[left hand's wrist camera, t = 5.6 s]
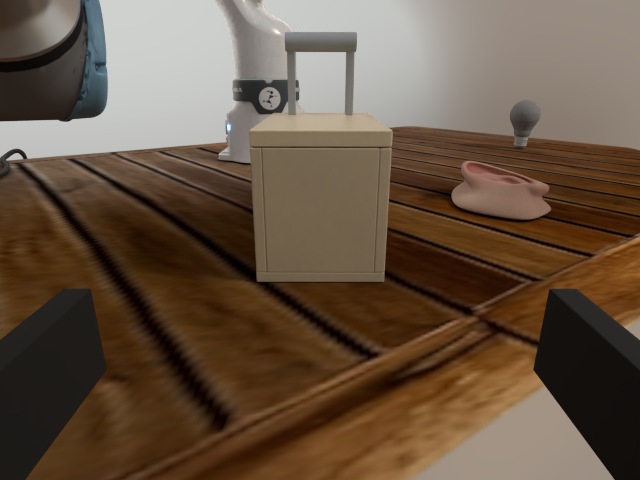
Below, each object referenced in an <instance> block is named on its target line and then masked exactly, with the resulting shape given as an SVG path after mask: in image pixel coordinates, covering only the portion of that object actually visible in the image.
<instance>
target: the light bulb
mask: <svg viewBox="0 0 640 480" xmlns="http://www.w3.org/2000/svg"><path fill="white" fill-rule="evenodd" d="M540 115H541V111H540V108H539V106H538V105H537V104H536V103H535V102H533V101H530V100H524V101H521V102H519V103H517V104H516V105H515V106H514V107H513V109H512V110H511V113H510V120H511V123H512V125H513V127H514V135H515V143H514V146H516V147H517V148H523V147H525V146H527V145H526V144H527V143H526V142H527V140H528V136H529V135H530V133H531V130H532V129H533V127H534V126H535V125H536V123H537V122H538V121H539V118H540Z"/></svg>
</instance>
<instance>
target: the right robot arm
mask: <svg viewBox="0 0 640 480" xmlns="http://www.w3.org/2000/svg"><path fill="white" fill-rule="evenodd" d="M214 1H215V2H216V4H217V5H218V7H219V8H220V10H221V12H222V13H223V15H224V18H225V20H226V22H227V25H228V28H229V32H230V37H231V43H232V51H233V60H234V72H235V79H288V75H287V52H286V51H285V32H293V31H292V29H291V28H290V27H289V26H288V25H287V24H286V23H285V22H283V21H282V20H280V19H278V18H277V17H275V16H273V15H271V14H269V13H267V12H266V11H265V8H264V5H263V0H214ZM295 78H296V52H295ZM232 91H233V99H234V100H235V104H234V106H233V108H232V109H231V110H230V111H229V113H227V119H226V134H227V135H228V136H227V143H228V147H227V148H226V149H225V150H223V151H222V152H221V153H220V154H219V157H218V159H219V160H228V161H236V162H242V163H251V160H250V148H251V147H250V141H249V130H251V129H252V128H253V127H255V126H256V125H258V124H259V123H260V122H262V121H263V120H264V119H266V118H267V117H269V116H270V115H271V114H273V113H288V80H233V88H232ZM299 91H300V90H299V82H298V80H296V113H306V112H305V111H304V110H303V109H302V108H301V107H300V106H299V104H298V101H297V100H299Z"/></svg>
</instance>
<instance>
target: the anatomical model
mask: <svg viewBox="0 0 640 480" xmlns="http://www.w3.org/2000/svg"><path fill="white" fill-rule="evenodd" d="M461 171H462V174H463V176H464V178H465V181H464V182H463V183H461V184H460V185H458V186H457V187H456V188H455V189H454V190H453V192H452V200H453V202H454V204H455V205H457V206H458V207H460V208H462V209H465V210H468V211H472V212H476V213H480V214H485V215H490V216H496V217H502V218H509V219H517V220H531V219H535V218H538V217H541V216H543V215H545V214H547V213H548V212H549V211H550V210H551V207H550V206H549V205H548V204H547V203H546V202H545V201H544V200H543V199H542V196H543V195H545V194H546V193H547V192H548V191H549V186H548V185H547V184H544V183H542V182H539V181H536V180H533V179H530V178H528V177H525V176H523V175H520V174H517V173H514V172H511V171H507V170H504V169H500V168H497V167H494V166H490V165H487V164H483V163H479V162H474V161H466V162H464V163H463V164H462V167H461Z"/></svg>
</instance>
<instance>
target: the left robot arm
mask: <svg viewBox="0 0 640 480" xmlns="http://www.w3.org/2000/svg"><path fill="white" fill-rule="evenodd" d="M107 92H108V80H107V68H106V44H105V34H104V26H103V19H102V13H101V7H100V3H99V0H0V121H28V120H59V121H64V122H67V121H70V120H72V119H80V118H92V117H96V116H98V115H100V114H101V113H102V112H103V111H104V109H105V107H106V103H107ZM14 153H19V154H20V155H21V156H22V157H23V159H28V158H27V156H26V154H25V153H24V152H23V151H22V150H20V149H13V150H10V151H9V152H7V153H6V154H5V155H3V156H2V157H1V158H0V161H1V162H2V163H3V164H4V168H3V169H2V170H1V171H0V177H2V176H4V175H5V174H7V172H8V171H9V163H8V162H7V161H6V159H7V158H9V157H10V156H11V155H13V154H14ZM106 370H107V369H106V364H105V359H104V354H103V349H102V344H101V339H100V334H99V329H98V324H97V319H96V314H95V309H94V304H93V299H92V294H91V289H63V290H62V291H60V292H59V293H58V294H57V295H56V296H54V297H53V298H52V299H51V300H49V301H48V302H47V303H46V304H44V305H43V306H42V307H41V308H39V309H38V310H37V311H36V312H35V313H33V314H32V315H31V316H30V317H28V318H27V319H26V320H25V321H23V322H22V323H21V324H20V325H18V326H17V327H16V328H15V329H14V330H12V331H11V332H10V333H9V334H7V335H6V336H5V337H4V338H2V339H1V340H0V480H25V479H26V478H27V477H28V475H29V474H30V473H31V471H32V470H33V468H34V467H35V466H36V464H37V463H38V462H39V460H40V459H41V458H42V456H43V455H44V454H45V452H46V451H47V450H48V448H49V447H50V446H51V444H52V443H53V441H54V440H55V439H56V437H57V436H58V435H59V433H60V432H61V431H62V429H63V428H64V427H65V425H66V424H67V423H68V421H69V420H70V418H71V417H72V416H73V414H74V413H75V412H76V410H77V409H78V408H79V406H80V405H81V404H82V402H83V401H84V400H85V398H86V397H87V396H88V394H89V393H90V391H91V390H92V389H93V387H94V386H95V385H96V383H97V382H98V381H99V379H100V378H101V377H102V375H103V374H104V373H105V371H106ZM533 370H534V371H535V373H536V374H537V375H538V377H539V378H540V379H541V381H542V382H543V383H544V385H545V386H546V387H547V389H548V390H549V391H550V393H551V394H552V395H553V397H554V398H555V400H556V401H557V402H558V404H559V405H560V406H561V408H562V409H563V410H564V412H565V413H566V414H567V416H568V417H569V418H570V420H571V421H572V423H573V424H574V425H575V427H576V428H577V429H578V431H579V432H580V433H581V435H582V436H583V437H584V439H585V440H586V441H587V443H588V444H589V445H590V447H591V448H592V450H593V451H594V452H595V454H596V455H597V456H598V458H599V459H600V460H601V462H602V463H603V464H604V466H605V467H606V468H607V470H608V471H609V473H610V474H611V475H612V477H613V478H614V479H615V480H640V340H639V339H638V338H636V337H635V336H634V335H633V334H631V333H630V332H629V331H628V330H626V329H625V328H624V327H623V326H622V325H620V324H619V323H618V322H617V321H615V320H614V319H613V318H612V317H610V316H609V315H608V314H607V313H605V312H604V311H603V310H602V309H601V308H599V307H598V306H597V305H596V304H594V303H593V302H592V301H591V300H589V299H588V298H587V297H586V296H584V295H583V294H582V293H581V292H580V291H578V290H577V289H549V294H548V299H547V304H546V309H545V314H544V319H543V324H542V329H541V334H540V339H539V344H538V349H537V354H536V359H535V364H534V369H533Z"/></svg>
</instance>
